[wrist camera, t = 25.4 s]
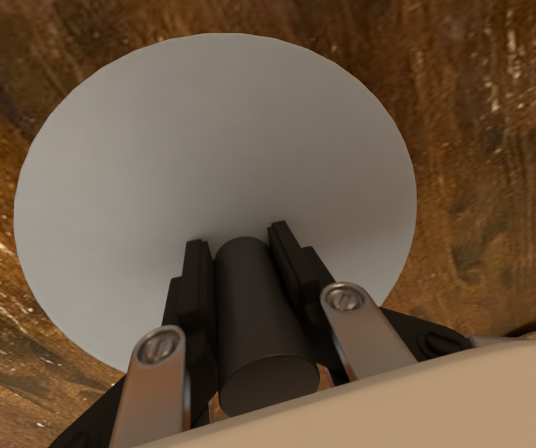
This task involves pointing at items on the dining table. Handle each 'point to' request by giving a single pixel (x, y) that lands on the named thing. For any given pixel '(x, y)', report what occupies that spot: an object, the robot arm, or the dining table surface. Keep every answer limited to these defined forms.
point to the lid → (212, 200)
